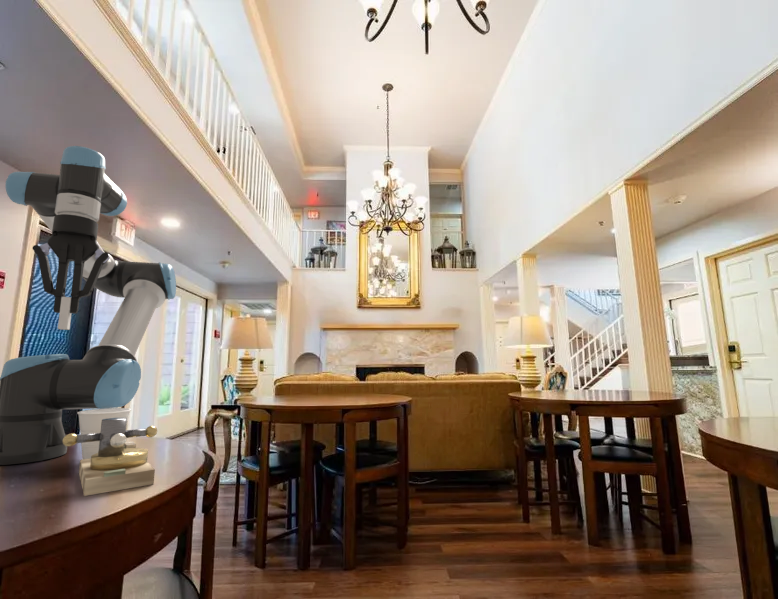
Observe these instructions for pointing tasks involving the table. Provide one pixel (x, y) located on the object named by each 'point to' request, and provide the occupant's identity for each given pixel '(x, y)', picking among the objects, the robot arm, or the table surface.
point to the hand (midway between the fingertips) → (63, 329)
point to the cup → (96, 425)
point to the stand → (114, 476)
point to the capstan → (114, 444)
